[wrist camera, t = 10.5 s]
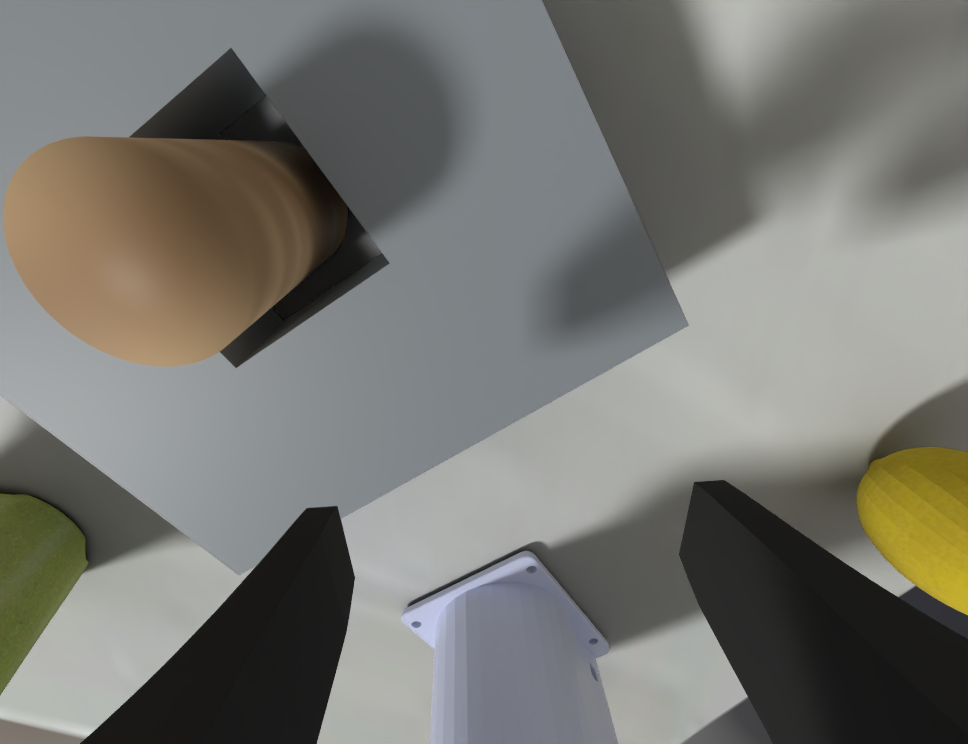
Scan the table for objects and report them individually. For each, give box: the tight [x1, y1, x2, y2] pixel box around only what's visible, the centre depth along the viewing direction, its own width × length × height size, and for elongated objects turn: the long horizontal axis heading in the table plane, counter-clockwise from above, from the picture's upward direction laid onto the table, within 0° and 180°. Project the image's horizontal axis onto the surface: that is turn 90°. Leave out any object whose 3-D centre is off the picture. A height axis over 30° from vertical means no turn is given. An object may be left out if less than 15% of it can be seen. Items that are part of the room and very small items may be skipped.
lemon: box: [856, 447, 968, 615], centre depth 18 cm, size 6×6×8 cm
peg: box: [3, 136, 348, 367], centre depth 12 cm, size 4×4×8 cm
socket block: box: [0, 0, 689, 575], centre depth 13 cm, size 18×18×4 cm
